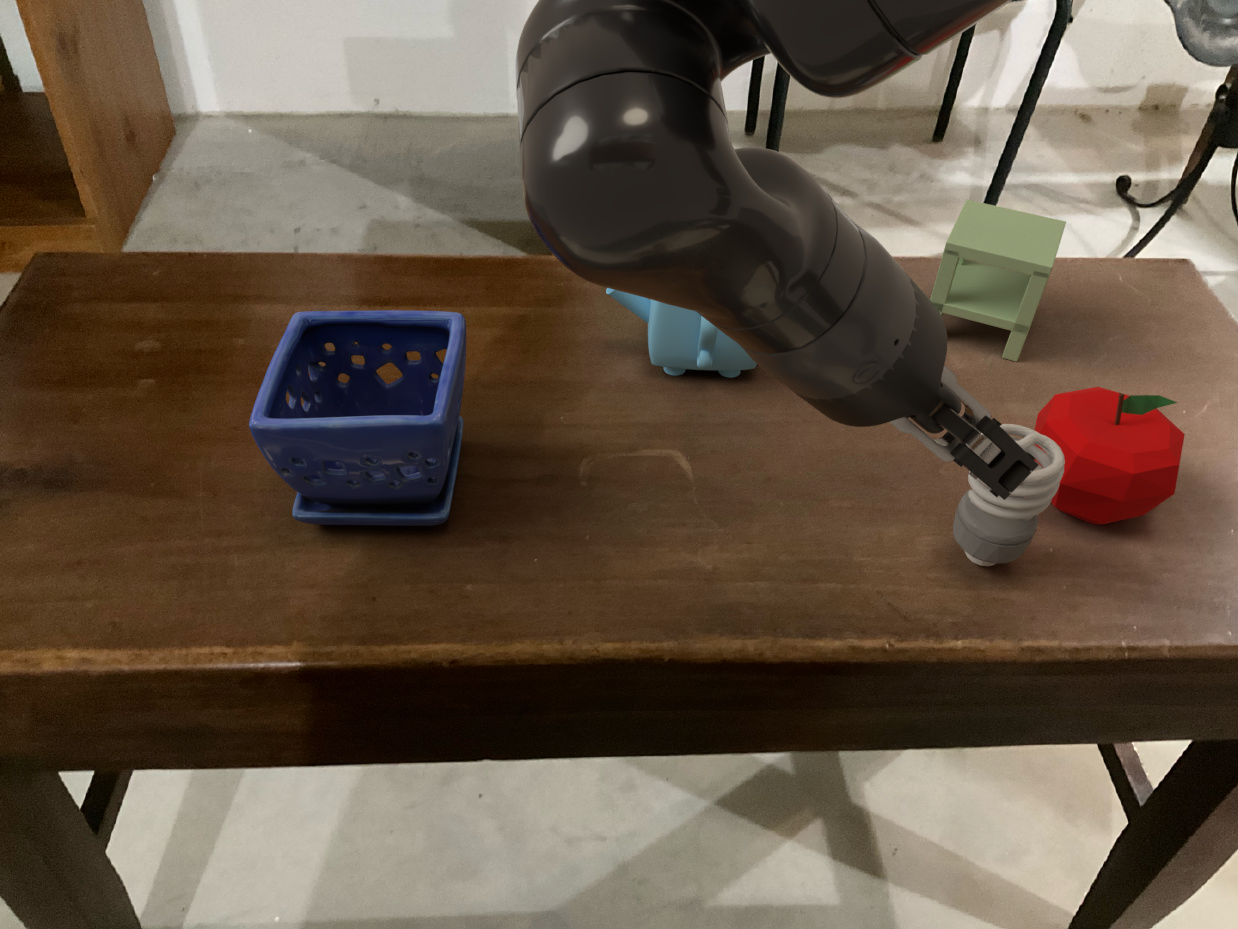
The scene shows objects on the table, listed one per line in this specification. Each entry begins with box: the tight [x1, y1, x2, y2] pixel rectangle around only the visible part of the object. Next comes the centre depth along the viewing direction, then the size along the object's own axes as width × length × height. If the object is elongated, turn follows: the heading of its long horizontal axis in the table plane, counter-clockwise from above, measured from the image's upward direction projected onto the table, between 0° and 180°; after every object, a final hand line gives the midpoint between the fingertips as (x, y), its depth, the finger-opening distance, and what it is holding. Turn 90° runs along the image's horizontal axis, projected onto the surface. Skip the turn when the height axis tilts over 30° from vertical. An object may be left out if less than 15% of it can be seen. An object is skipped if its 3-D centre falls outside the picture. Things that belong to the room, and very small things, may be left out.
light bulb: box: [952, 423, 1065, 567], centre depth 66 cm, size 6×6×12 cm
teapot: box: [605, 288, 758, 379], centre depth 85 cm, size 18×14×10 cm
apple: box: [1033, 386, 1186, 525], centre depth 72 cm, size 11×11×10 cm
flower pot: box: [248, 309, 467, 527], centre depth 70 cm, size 13×13×12 cm
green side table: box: [929, 199, 1067, 363], centre depth 89 cm, size 9×9×10 cm
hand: (955, 432), depth 56 cm, fingers open, 8 cm apart
